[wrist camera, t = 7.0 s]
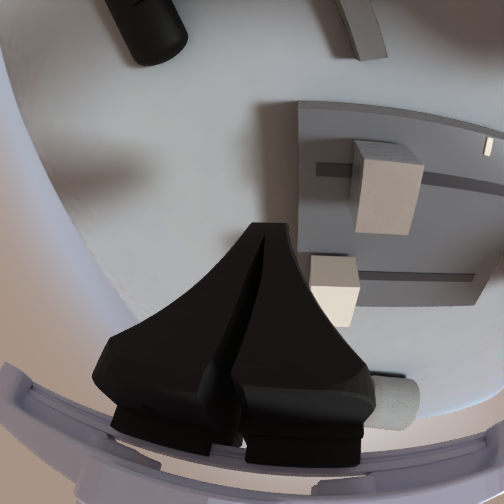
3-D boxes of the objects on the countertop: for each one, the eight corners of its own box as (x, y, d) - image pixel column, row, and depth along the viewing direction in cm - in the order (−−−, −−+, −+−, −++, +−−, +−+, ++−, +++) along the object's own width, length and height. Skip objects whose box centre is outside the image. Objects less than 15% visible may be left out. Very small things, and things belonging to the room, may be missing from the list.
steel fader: (406, 145, 13) (424, 165, 11) (395, 207, 16) (408, 235, 14) (354, 139, 14) (364, 159, 12) (348, 204, 16) (355, 232, 14)
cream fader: (355, 257, 19) (360, 287, 17) (346, 297, 21) (349, 326, 19) (311, 255, 19) (311, 285, 17) (308, 295, 22) (307, 325, 20)
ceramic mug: (369, 364, 33) (371, 420, 27) (418, 369, 33) (424, 420, 27) (335, 394, 40) (333, 440, 34) (380, 398, 40) (381, 441, 34)
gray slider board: (518, 138, 13) (538, 152, 11) (466, 285, 22) (474, 306, 20) (298, 100, 16) (297, 109, 14) (296, 282, 25) (294, 304, 23)
